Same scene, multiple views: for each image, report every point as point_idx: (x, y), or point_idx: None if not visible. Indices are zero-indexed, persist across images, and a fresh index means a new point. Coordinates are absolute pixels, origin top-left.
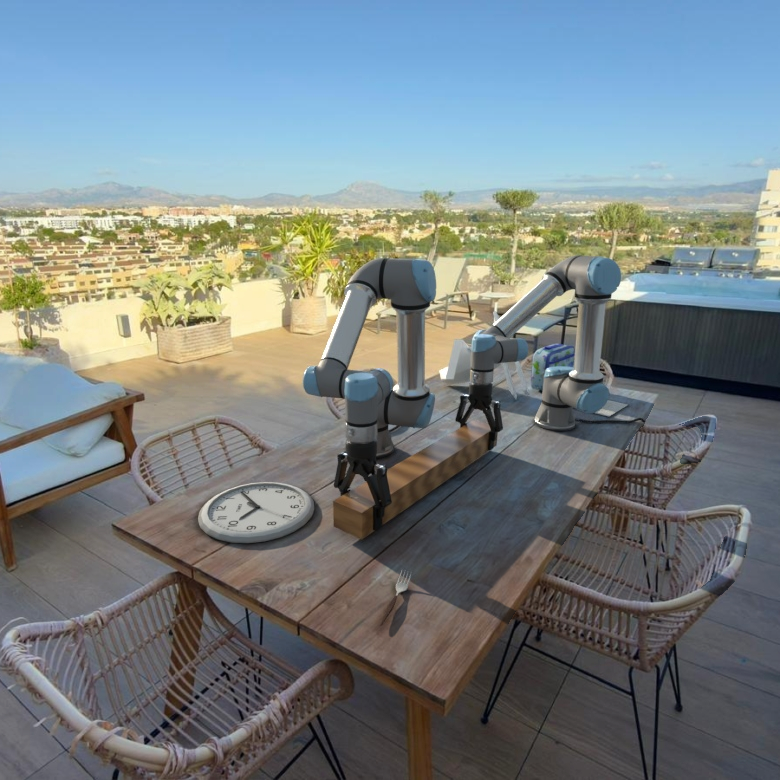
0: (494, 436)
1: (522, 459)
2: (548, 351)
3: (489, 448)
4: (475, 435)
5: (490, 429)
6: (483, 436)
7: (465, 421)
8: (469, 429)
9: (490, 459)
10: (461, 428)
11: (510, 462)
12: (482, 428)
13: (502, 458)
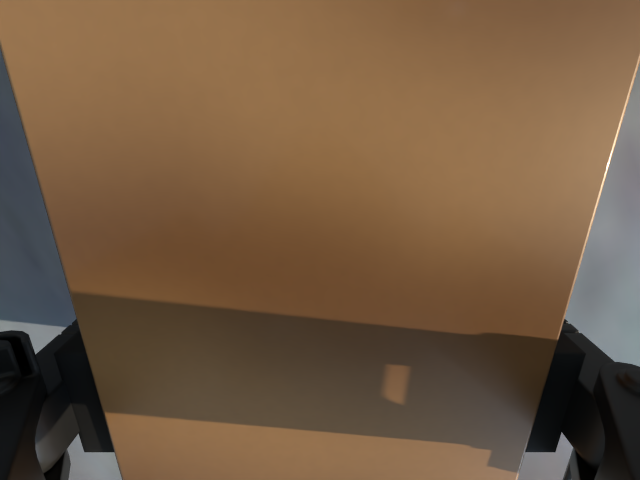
0: (61, 341)
1: (34, 332)
2: None
3: None
4: (125, 14)
5: (131, 434)
6: (48, 151)
7: (587, 460)
8: (401, 249)
9: None
10: (561, 197)
11: (51, 246)
12: (244, 405)
13: None
